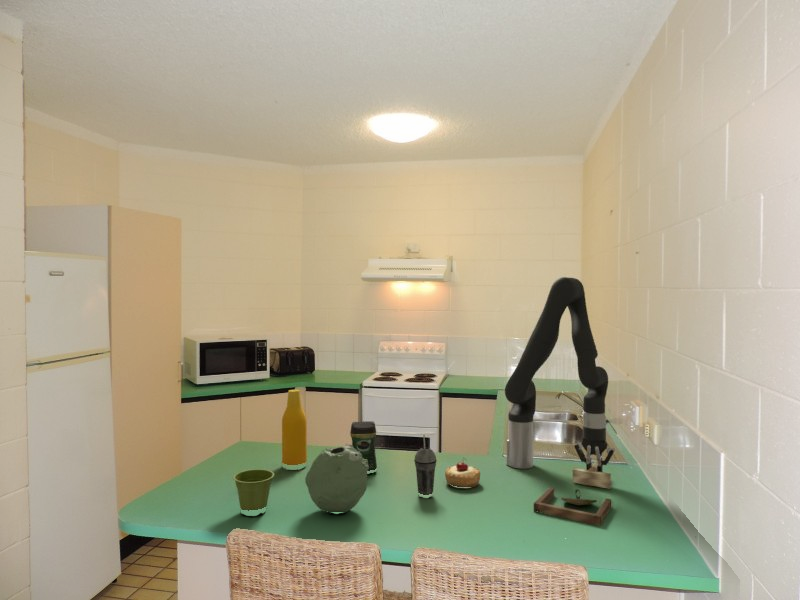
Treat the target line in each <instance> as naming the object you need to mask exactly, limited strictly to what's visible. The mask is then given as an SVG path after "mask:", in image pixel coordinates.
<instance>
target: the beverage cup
mask: <svg viewBox="0 0 800 600" xmlns="http://www.w3.org/2000/svg"><path fill="white" fill-rule="evenodd" d="M422 438H423V440H422V441H423V447H421V448H420V449H418V450H417V452H416V453H415V455H414V460H413V461H414V466H415V471H416V484H417V493H420V494H423V495H429V494H432V493H434V484H435V471H436V465H437V457H436V456H437V455H436V453H435V451H433V450H432V449H431V448H430V447H426V437H425V434H423V437H422Z"/></svg>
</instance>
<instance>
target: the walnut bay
mask: <svg viewBox="0 0 800 600" xmlns="http://www.w3.org/2000/svg"><path fill="white" fill-rule="evenodd" d="M554 497H555V488H554V487H549V488H547V489H546V490H545V492H544V493H542V494H541V495H540V496H539V497H538V498H537V499H536V500H535V501H534V502H533V512H534V511H538V512H542V513H541V514H543V513H546V514H545V515H547V514H550V515H549V516H552V515H553V516H552V517H557V518H562V519H566V520H571V521H576V522H581V523H585V524H589V525H593V526H599V527H600V526H601V525H602V523H603V521H604V520H605V519H606V517H607V515H608V513H610V511H611V509H612V499H611V498H606V497H605V499H604V501H602V502H603V503H602V504H601V505H600V506H599V508H598V509H597V511H596V513H593V512H588V511H583V510H578V509H574V508H567V507H564V506H558V505H553V504H549V502H550V501H551V500H552V499H553V498H554ZM538 512H537V513H538Z"/></svg>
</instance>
